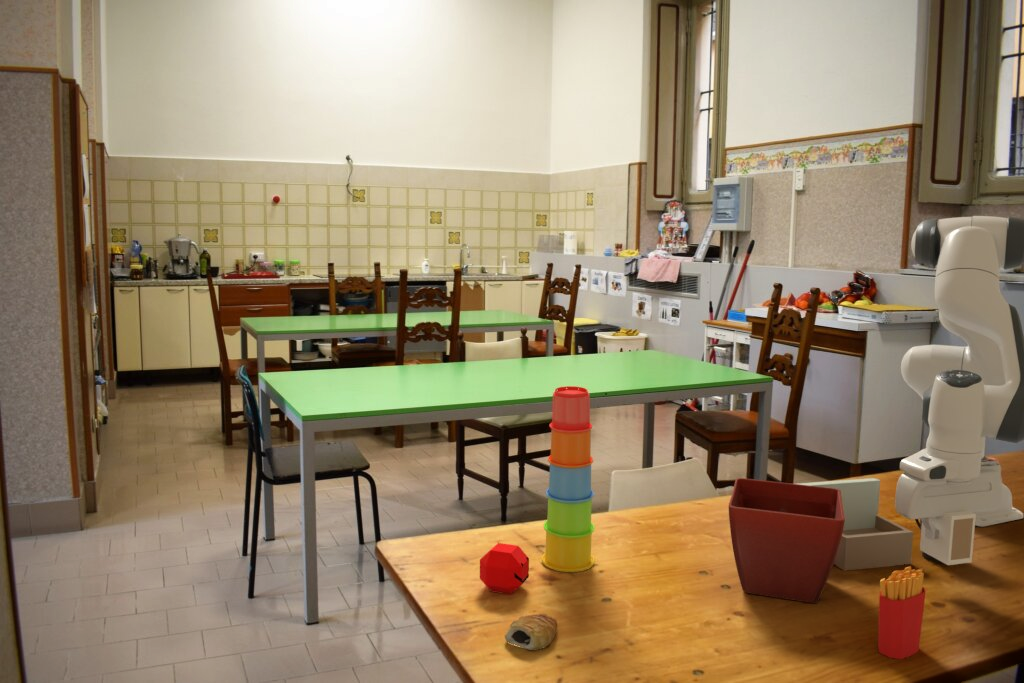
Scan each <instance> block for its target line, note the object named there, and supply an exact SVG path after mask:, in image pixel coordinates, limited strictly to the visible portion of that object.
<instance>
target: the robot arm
mask: <svg viewBox="0 0 1024 683" xmlns="http://www.w3.org/2000/svg"><path fill="white" fill-rule="evenodd" d="M910 245H911V246H910V248H911V253H912V255H913V257H914V261H915V262H916V264H918V265H920V267H924V268H928V269H933V270H934V269H935V268H936V271H935V280H934V302H935V306H936V308H937V310H938V312H939V313H938V319H939V322H940V324H941V326H943V328H945V329H946V330H947V331H949V333H952V334H954V335H956V336H957V337H959V338H961V339H962V340H963V341H964V342H965V343H966V344H967V346H960V345H959V346H958V345H947V344H926V345H925V344H924V345H916V346H912V347H911V348H909V349H908V350H907V351H906V352H905V353H904V355H903V357H902V359H901V364H900V372H901V373H900V374H901V376H902V379H903V380H904V382H905V383H906V384H907V385H908V387H909V388H911V389H913V391H914V392H916V393H917V394H918V396H919V397H920V398H921V399H922V416H921V421H922V422H923V424H925V426H927V428H929V434H928V437H927V439H926V443H925V448H923V449H920V450H919V451H917V452H915V453H913V454H912V455H909V456H906V457H905V458H903V459H900V460H901V461H900V462H899V470H900V471H902V472H903V473H902V474H901V475H900V476H899V478H898V479H897V483H896V489H895V498H894V500H895V501H894V508H895V510H896V512H897V513H898V514H899V515H900V516H902V517H904V518H906V519H908V520H915V519H918V520H919V519H921V521H922V523H923V525H924V527H925V537H926V538H928V539H930V540H933V539H938V538H939V530H938V529H935V528H934V525H933V523H932V522H935V519H936V517H938V516H944V514H945V513H950V512H960V511H971V512H973V513H975V514H976V518H975V527H976V526H977V527H981V528H982V527H988V526H994V525H998V524H1003V523H1006V522H1011V521H1015V520H1021V519H1024V513H1023V512H1022V511H1021V510H1020V509H1018V508H1015V507H1014V506H1013V495H1012V492H1011V489H1010V488H1009V487H1008V486H1007V485H1005V484H1004V483H1003V479H1002V466H1001V465H1000V460H999V458H993V457H990V456H989V457H987V456H985V449H986V448H985V447H986V439H988V438H990V439H995V440H998V441H1003V442H1009V443H1014V444H1018V443H1020V442H1023V441H1024V329H1023V326H1022V321H1021V317H1020V314H1019V313H1018V310H1017V308H1016V306H1014V305H1012V304H1010V303H1008V302H1007V301H1006V300H1005V298H1004V296H1003V295H1002V292H1001V290H1000V289H1001V288H1000V276H1001V275H1000V274H1001V270H1000V269H1004V270H1005V271H1007V270H1010V269H1015V268H1018V267H1021V266H1022V265H1024V218H1022V217H1017V216H1016V217H1015V216H1007V217H1002V216H989V215H972V216H961V217H960V216H958V217H948V218H947V217H946V218H940V219H939V218H938V217H935V218H930V219H926V220H922V221H921V222H919V224H918V225H917V226H916V229H915V230H914V232H913V234H912V238H911V244H910Z"/></svg>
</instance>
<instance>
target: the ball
mask: <svg viewBox="0 0 1024 683" xmlns="http://www.w3.org/2000/svg"><path fill="white" fill-rule="evenodd" d="M529 571H530V558H529V557H528V556H527V554H526V553H525V552H524V551H523V550H522V548H521V547H520V546H519V545H516V544H507V543H503V542H502V543H501V542H498V543H496V544H495V545H494V546H493V547H492V548H491V549H490V550H489V551H487V553H485V554H484V555H483V556H482V557H481V558H480V559H479V579H480V581H481V582H482V583H483V584H484V585H485V587H486V588H487V590H489V592H493V591H494V593H499V592H501V593H500V594H505V593H507V594H506V595H512V594H513V593H514V592H515V591H517V590H518V589H519V588H521V587H522V585H523V584H524V583H525V582H526V581H527V579H529V577H530V573H529Z"/></svg>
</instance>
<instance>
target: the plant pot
mask: <svg viewBox="0 0 1024 683" xmlns="http://www.w3.org/2000/svg"><path fill="white" fill-rule="evenodd" d="M728 520H729V528H730V538H731V544H732V545H731V546H732V552H733V557H734V561H735V566H736V570H737V574H738V577H739V578H738V579H739V583H740V586H741V589H742V591H743V592H744V593H746V594H747V593H748V594H753V595H759V596H760V595H761V596H766V597H770V598H771V597H772V598H778V599H786V600H791V601H799V602H805V603H811V604H815V603H817V602H819V600H820V597H821V595H822V593H823V591H824V589H825V587H826V585H827V583H828V581H829V580H828V579H829V578H830V575H831V572H832V569H833V566H834V561H835V558H836V555H837V551H838V548H839V544H840V541H841V537H842V533H843V528H844V523H845V515H844V509H843V503H842V496H841V491H840V490H839V489H834V488H826V487H817V486H808V485H799V484H797V483H790V482H789V483H787V482H781V481H780V482H778V481H771V480H763V479H762V480H761V479H753V478H746V477H745V478H744V477H740V478H739V477H738V478H736V479H735V481H734V484H733V489H732V493H731V496H730V499H729V503H728Z"/></svg>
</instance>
